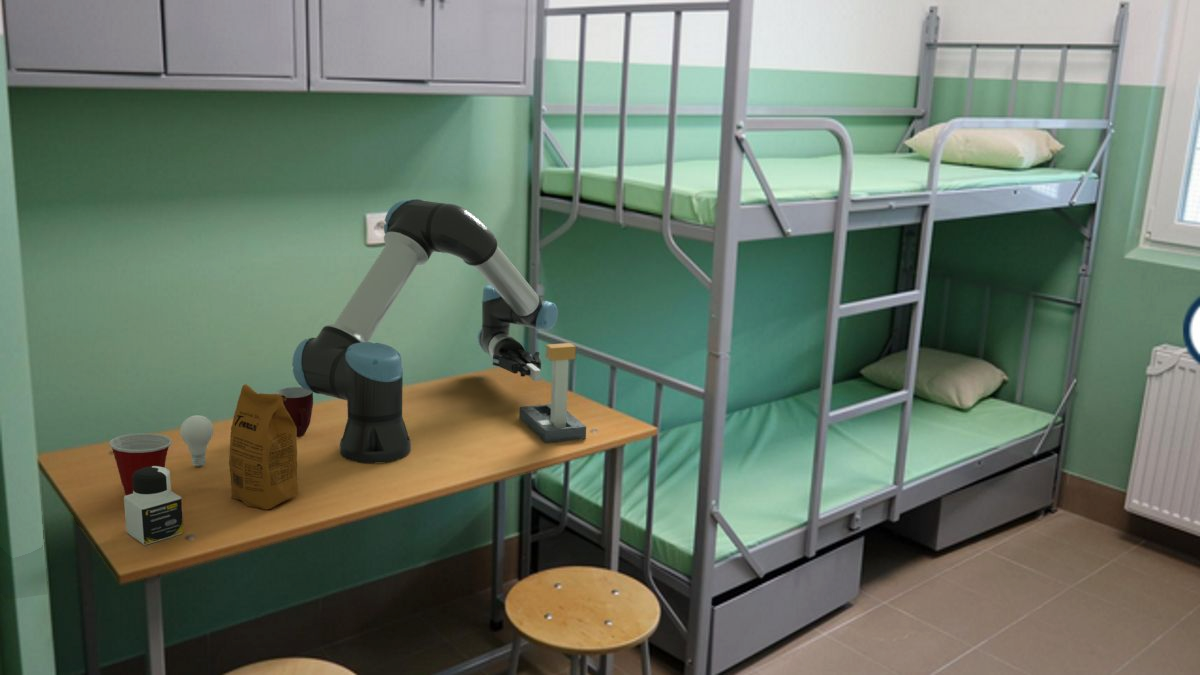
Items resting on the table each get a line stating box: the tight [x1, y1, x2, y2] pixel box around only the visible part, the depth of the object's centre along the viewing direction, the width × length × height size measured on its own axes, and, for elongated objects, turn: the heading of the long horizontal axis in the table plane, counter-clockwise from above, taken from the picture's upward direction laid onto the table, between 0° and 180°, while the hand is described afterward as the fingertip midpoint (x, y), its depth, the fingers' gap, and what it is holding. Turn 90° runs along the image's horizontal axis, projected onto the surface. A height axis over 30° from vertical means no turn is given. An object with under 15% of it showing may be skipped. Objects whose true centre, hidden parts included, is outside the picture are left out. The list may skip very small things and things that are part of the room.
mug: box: [275, 386, 314, 438], centre depth 229 cm, size 11×8×10 cm
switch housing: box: [518, 403, 587, 444], centre depth 242 cm, size 18×10×3 cm, turn 24°
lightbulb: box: [179, 414, 214, 468], centre depth 209 cm, size 6×6×11 cm
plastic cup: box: [108, 432, 173, 496], centre depth 193 cm, size 11×11×12 cm
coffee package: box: [228, 383, 299, 510], centre depth 194 cm, size 10×12×22 cm
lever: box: [545, 342, 577, 428], centre depth 236 cm, size 3×6×20 cm, turn 114°
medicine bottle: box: [123, 466, 184, 546], centre depth 179 cm, size 7×7×12 cm
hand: (537, 375), depth 249 cm, fingers closed
